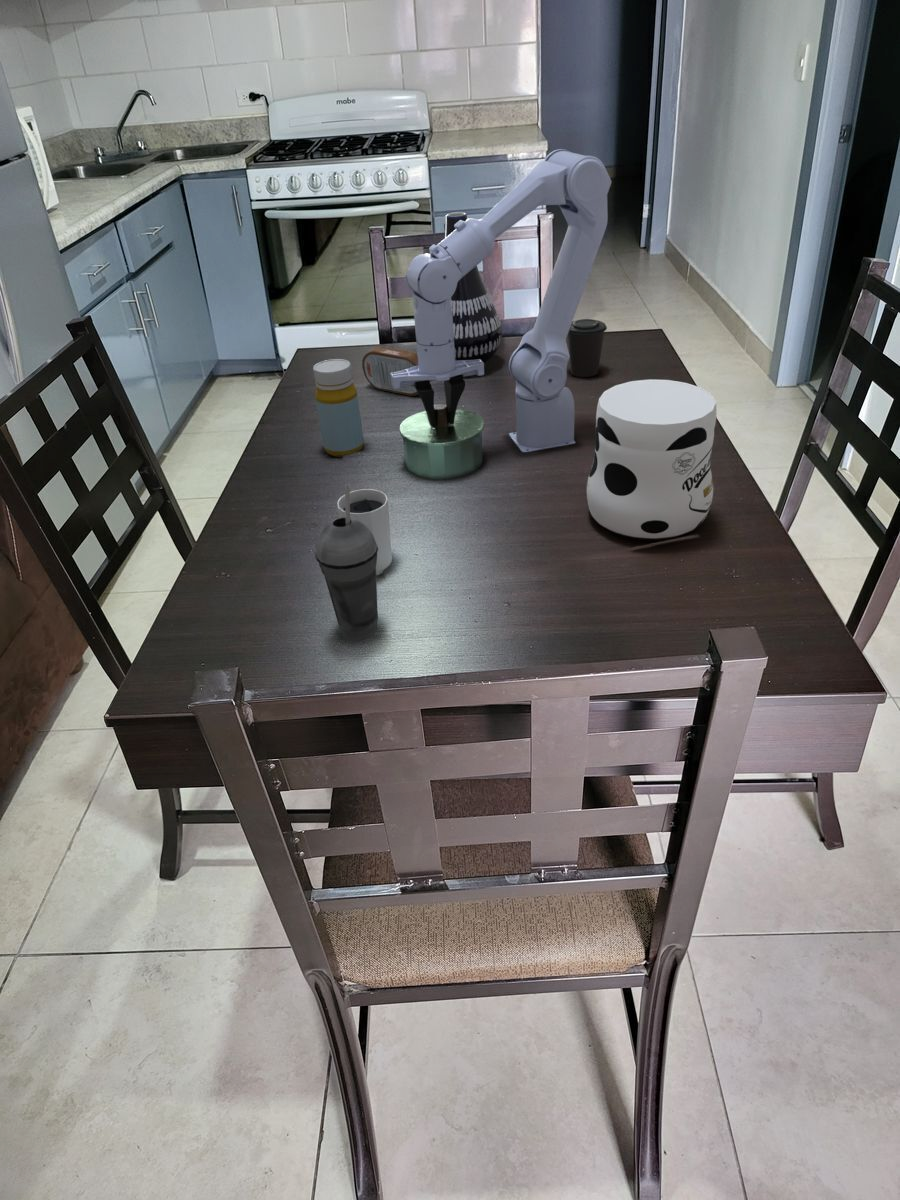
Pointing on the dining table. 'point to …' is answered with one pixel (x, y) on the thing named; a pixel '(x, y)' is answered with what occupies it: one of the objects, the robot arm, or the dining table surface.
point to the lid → (441, 427)
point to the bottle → (338, 407)
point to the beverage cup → (350, 573)
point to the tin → (388, 368)
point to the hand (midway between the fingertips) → (441, 423)
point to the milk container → (652, 459)
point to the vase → (473, 312)
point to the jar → (444, 458)
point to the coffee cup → (585, 346)
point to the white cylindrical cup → (372, 520)
